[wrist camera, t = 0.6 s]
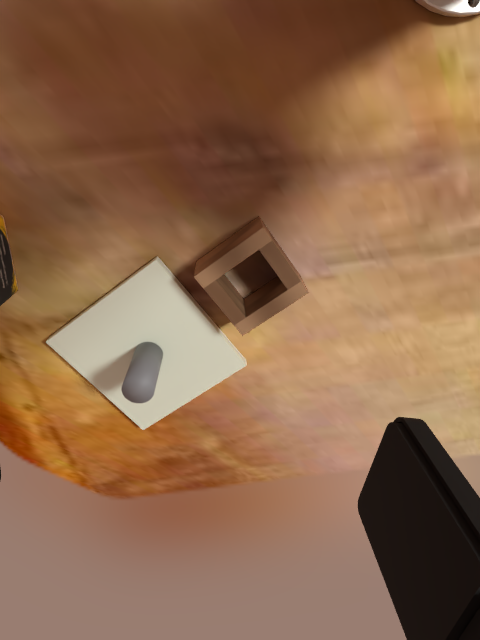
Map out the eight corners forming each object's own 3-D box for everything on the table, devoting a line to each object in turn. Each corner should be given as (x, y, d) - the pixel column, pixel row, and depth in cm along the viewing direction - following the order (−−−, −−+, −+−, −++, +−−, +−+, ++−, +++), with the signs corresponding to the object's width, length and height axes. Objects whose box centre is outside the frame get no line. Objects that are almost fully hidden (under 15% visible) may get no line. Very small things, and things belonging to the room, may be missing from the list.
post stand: (157, 256, 37) (144, 284, 31) (246, 360, 43) (250, 402, 36) (49, 336, 40) (18, 377, 34) (144, 424, 46) (132, 472, 40)
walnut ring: (258, 216, 36) (263, 227, 32) (300, 276, 39) (308, 292, 35) (196, 261, 38) (193, 276, 34) (240, 316, 40) (242, 335, 37)
